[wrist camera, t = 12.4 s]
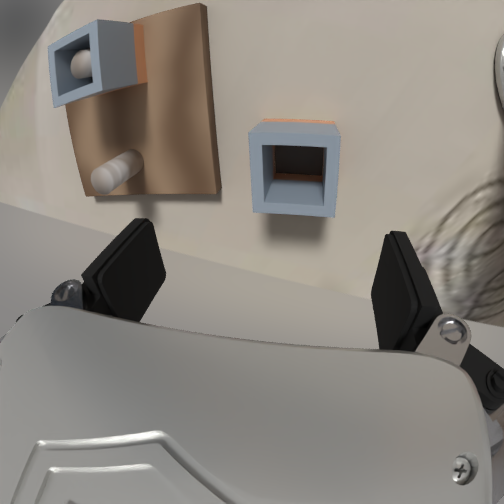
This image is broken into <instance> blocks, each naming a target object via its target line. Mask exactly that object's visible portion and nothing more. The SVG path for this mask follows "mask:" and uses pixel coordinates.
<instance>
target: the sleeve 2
mask: <svg viewBox="0 0 504 504" xmlns="http://www.w3.org/2000/svg"><path fill="white" fill-rule="evenodd" d="M248 135H249V152H250V169H251V187H252V205H253V212H256V213H274V214H291V215H306V216H320V217H333V218H335V209H336V198H337V186H338V173H339V158H340V138H341V136H340V133H339V131H338V129H337V127H336V125H335V123H334V121H319V120H298V119H264V120H263V121H261V122H260V123H259V124H258V125H257V126H256V127H254V128H253V129H252V130H251V131H250V132H249V133H248ZM275 145H292V146H313V147H323V170H322V176H318V175H302V174H282V173H276V167H275Z"/></svg>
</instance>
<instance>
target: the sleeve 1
mask: <svg viewBox="0 0 504 504" xmlns="http://www.w3.org/2000/svg"><path fill="white" fill-rule="evenodd" d="M87 49H90V55H91V67H92V77H87V78H81V79H77V78H75V77H74V76H73V75H72V73H71V61H72V59H73V57H74V55H75V54H76V53H77V52H78V51H80V50H87ZM48 59H49V72H50V82H51V91H52V98H53V105H54V108H56V107H59V106H62V105H66V104H69V103H72V102H76V101H79V100H83V99H86V98H90V97H94V96H98V95H102V94H105V93H108V92H112V91H115V90H119V89H122V88H126V87H130V86H134V85H138V84H142V83H147V82H148V81H147V71H146V59H145V46H144V30H143V25H141V24H134V23H127V22H119V21H109V20H95V21H93V22H91V23H89V24H87V25H85V26H83V27H81V28H79V29H77V30H75V31H74V32H72V33H70V34H68V35H66V36H65V37H63V38H61V39H60V40H58V41H56V42H55V43H53V44H51V45H50V46H48Z"/></svg>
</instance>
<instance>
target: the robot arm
mask: <svg viewBox="0 0 504 504" xmlns="http://www.w3.org/2000/svg"><path fill="white" fill-rule="evenodd" d="M495 73H496V83H497V88H498V93H499V97H500V100H501V103H502V107H503V109H504V34H503V36H502V37H501V39H500V41H499V44H498V46H497V51H496V57H495ZM81 276H82V278H83V280H84V283H83V284H81V282H80V281H79V280H75V279H73V280H68V281H65V282H63V283H61V284H60V285H59V286H57V287H56V289H55V290H54V291H53V293H52V296H51V303H49V304H47V305H45V306H42V307H38V308H35V309H32V310H30V311H28V312H26V313H25V314H24V315H21V316H20V317H19V318H18V319H17V321H16V323H15V325H14V326H13V327H12V328H11V329H10V331H9V332H8V333H7V334H6V335H4V336H3V337H2V338H0V504H496V503H497V502H498V501H499V500H500V499H501V498H502V497H503V496H504V369H503V368H502V367H500V366H499V365H498V364H496V363H495V362H493V361H492V360H491V359H490V358H488V357H487V356H486V355H484V354H483V353H482V352H480V351H479V350H478V349H476V348H475V347H473V346H472V345H471V344H469V343H470V340H471V331H470V329H469V327H468V325H467V324H466V322H465V321H464V320H462V319H461V318H460V317H458V316H456V315H454V314H443V312H442V310H441V307H440V305H439V302H438V299H437V297H436V294H435V292H434V289H433V287H432V285H431V282H430V280H429V278H428V275H427V273H426V271H425V269H424V267H422V266H421V263H420V261H419V259H418V257H417V255H416V253H415V250H414V248H413V246H412V244H411V242H410V240H409V238H408V236H407V234H406V233H405V232H401V231H391V232H390V234H386V235H385V238H384V242H383V246H382V251H381V255H380V259H379V263H378V267H377V271H376V275H375V278H374V282H373V286H372V290H371V298H372V304H373V310H374V315H375V321H376V328H377V335H378V342H379V349H358V348H337V347H321V346H307V345H294V344H282V343H273V342H264V341H254V340H246V339H238V338H230V337H222V336H216V335H209V334H202V333H196V332H190V331H184V330H178V329H173V328H167V327H161V326H156V325H151V324H146V323H141V322H140V320H141V319H142V317H143V315H144V314H145V312H146V310H147V309H148V307H149V305H150V304H151V301H152V300H153V299H154V297H155V295H156V294H157V292H158V290H159V289H160V287H161V286H162V284H163V282H164V281H165V278H166V271H165V268H164V264H163V261H162V257H161V253H160V249H159V246H158V242H157V238H156V234H155V230H154V226H153V223H152V222H150V221H149V219H147V218H135V219H134V220H133V221H132V222H131V223H130V224H129V225H128V226H127V227H126V228H125V229H124V230H123V231H122V232H121V233H120V234H119V235H118V236H117V237H116V238H115V239H114V240H113V241H112V242H111V243H110V244H109V245H108V246H107V247H106V248H105V249H104V250H103V251H102V252H101V254H100V255H99V256H98V257H97V258H96V259H95V260H94V261H93V262H92V263H91V264H90V266H89V267H88V268H87V269H86V270H85V271H84V272H83V273H82V275H81Z"/></svg>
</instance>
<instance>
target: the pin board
mask: <svg viewBox="0 0 504 504" xmlns="http://www.w3.org/2000/svg"><path fill="white" fill-rule="evenodd" d="M130 23H134V24H141V25H143V30H144V46H145V59H146V71H147V81H148V82H147V83H142V84H138V85H134V86H130V87H126V88H122V89H119V90H115V91H112V92H108V93H105V94H102V95H98V96H94V97H90V98H86V99H83V100H79V101H76V102H72V103H69V104H66V105H65V106H66V112H67V118H68V123H69V129H70V134H71V139H72V144H73V148H74V153H75V157H76V161H77V165H78V169H79V173H80V177H81V181H82V184H83V188H84V191H85V195H86V197H87V196H107V195H135V194H217V193H218V192H219V190H220V189H221V188H222V187H221V177H220V168H219V158H218V147H217V137H216V126H215V115H214V103H213V91H212V78H211V65H210V51H209V37H208V21H207V6H205V5H203V4H201V3H196V4H192V5H187V6H183V7H179V8H175V9H171V10H167V11H164V12H160V13H157V14H154V15H150V16H147V17H144V18H141V19H138V20H135V21H132V22H130ZM71 73H72V75H73V76H74V77H75V78H77V79H81V78H87V77H92V67H91V55H90V49H87V50H80V51H78V52H77V53H76V54H75V55H74V57H73V59H72V61H71Z"/></svg>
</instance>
